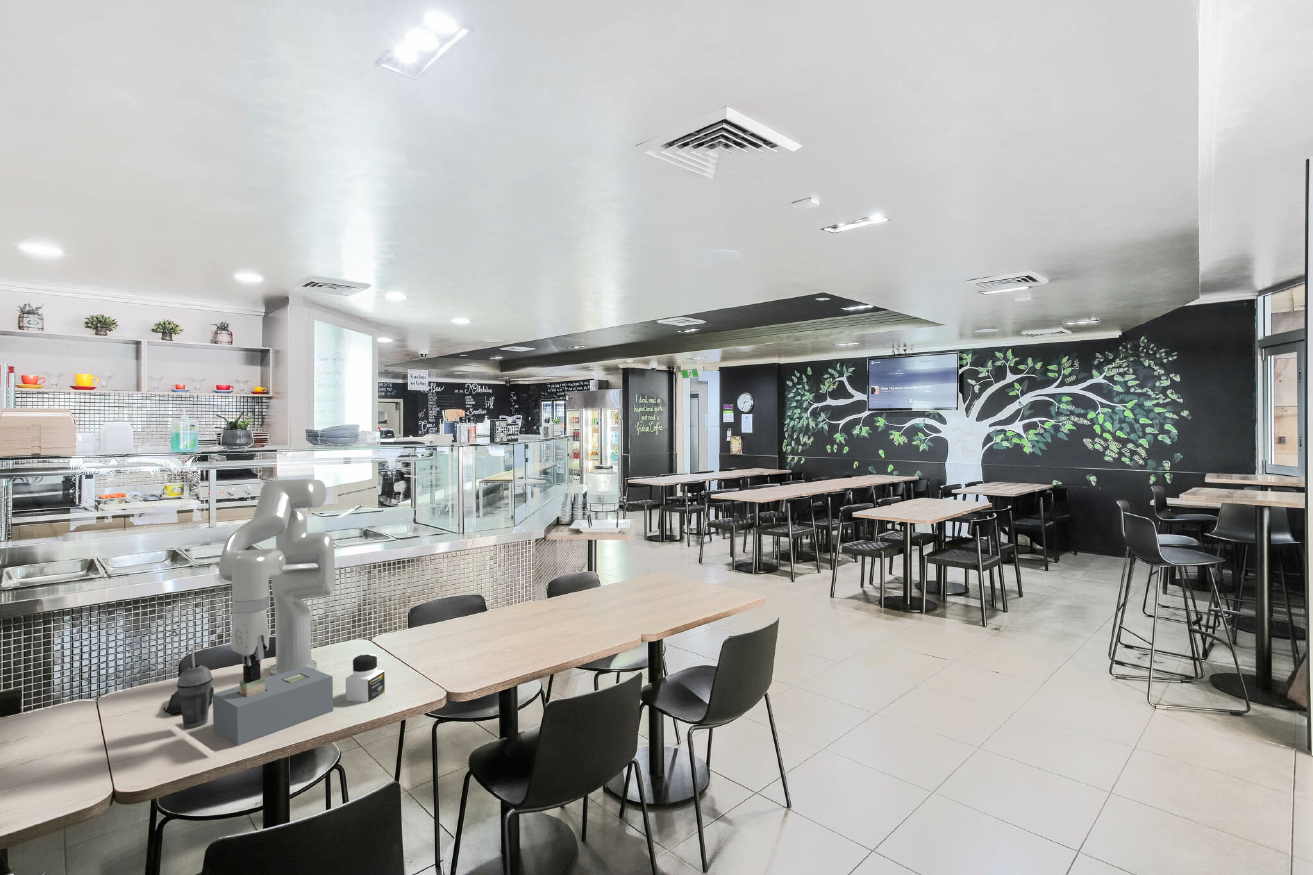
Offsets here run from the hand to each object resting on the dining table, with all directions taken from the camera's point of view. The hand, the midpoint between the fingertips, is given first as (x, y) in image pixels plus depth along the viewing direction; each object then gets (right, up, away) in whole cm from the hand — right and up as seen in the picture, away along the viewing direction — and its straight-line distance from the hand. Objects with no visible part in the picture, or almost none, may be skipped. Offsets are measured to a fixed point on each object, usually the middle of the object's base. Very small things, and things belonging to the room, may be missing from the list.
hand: (252, 680), depth 153 cm
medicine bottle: (+19, -13, +19) cm, 30 cm away
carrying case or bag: (-29, -14, +18) cm, 37 cm away
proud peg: (0, -9, 0) cm, 9 cm away
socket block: (+3, -13, +4) cm, 14 cm away
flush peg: (+6, -12, +8) cm, 16 cm away
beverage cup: (-16, -13, +3) cm, 21 cm away
